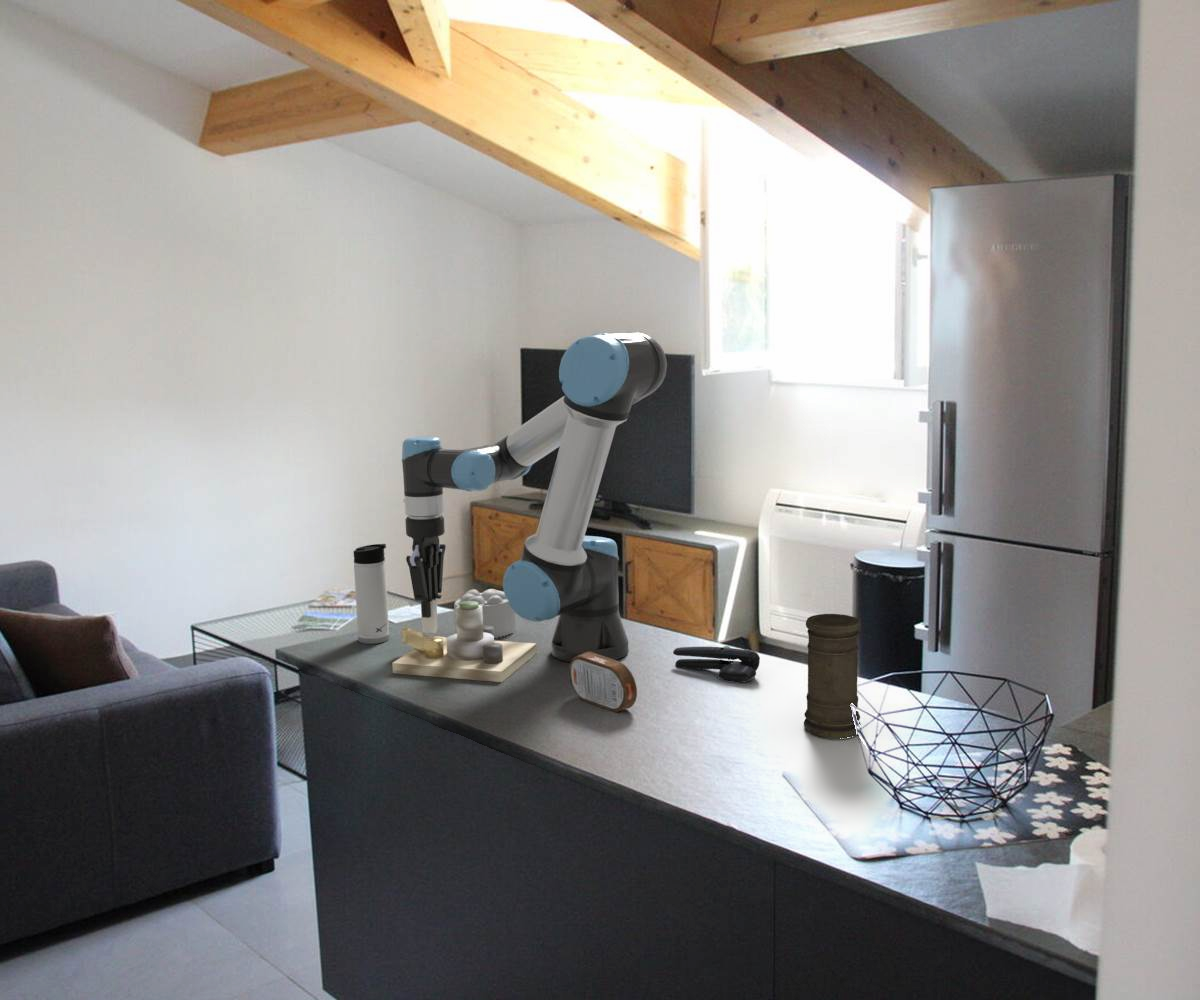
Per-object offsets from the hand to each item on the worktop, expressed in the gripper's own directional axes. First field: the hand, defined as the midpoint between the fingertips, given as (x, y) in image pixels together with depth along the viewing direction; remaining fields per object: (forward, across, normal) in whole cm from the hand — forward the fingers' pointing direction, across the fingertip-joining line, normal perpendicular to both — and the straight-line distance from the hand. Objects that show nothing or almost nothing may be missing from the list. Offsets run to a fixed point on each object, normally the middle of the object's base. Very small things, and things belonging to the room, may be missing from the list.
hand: (430, 631), depth 233 cm
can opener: (+4, +1, +58) cm, 59 cm away
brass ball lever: (+1, +8, +2) cm, 8 cm away
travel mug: (+4, -2, -14) cm, 15 cm away
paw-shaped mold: (+4, -13, +6) cm, 15 cm away
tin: (+4, +23, +43) cm, 49 cm away
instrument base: (+3, +7, +11) cm, 14 cm away
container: (+4, +25, +82) cm, 86 cm away
